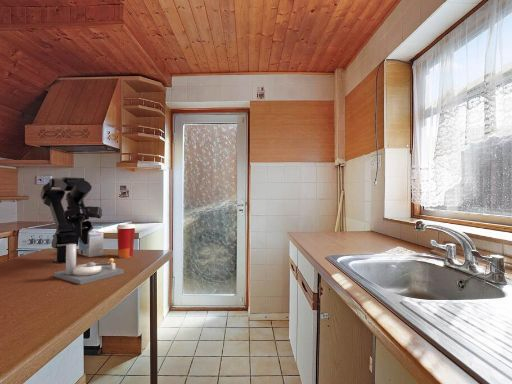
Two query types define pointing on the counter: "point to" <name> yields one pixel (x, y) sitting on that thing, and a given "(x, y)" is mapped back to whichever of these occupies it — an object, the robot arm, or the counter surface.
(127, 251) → the coffee cup
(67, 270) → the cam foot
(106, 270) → the stand
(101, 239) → the light bulb box
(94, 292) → the counter surface
